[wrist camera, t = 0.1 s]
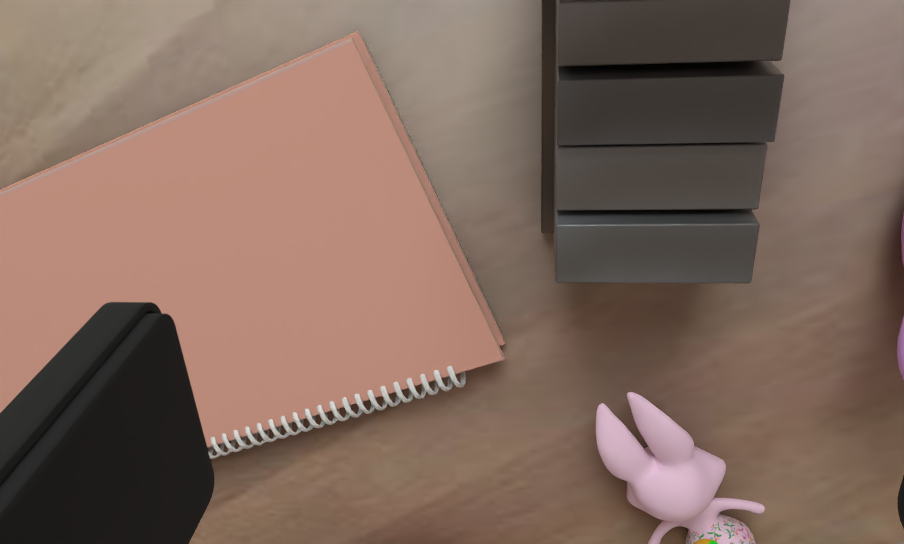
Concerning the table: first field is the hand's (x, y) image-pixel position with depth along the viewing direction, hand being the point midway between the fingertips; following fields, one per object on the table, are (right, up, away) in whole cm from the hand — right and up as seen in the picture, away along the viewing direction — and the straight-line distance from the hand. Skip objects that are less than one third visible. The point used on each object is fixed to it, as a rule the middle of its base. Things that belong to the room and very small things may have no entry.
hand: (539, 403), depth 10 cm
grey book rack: (+6, +12, +20) cm, 24 cm away
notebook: (-14, 0, +29) cm, 32 cm away
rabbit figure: (+11, -8, +31) cm, 34 cm away
